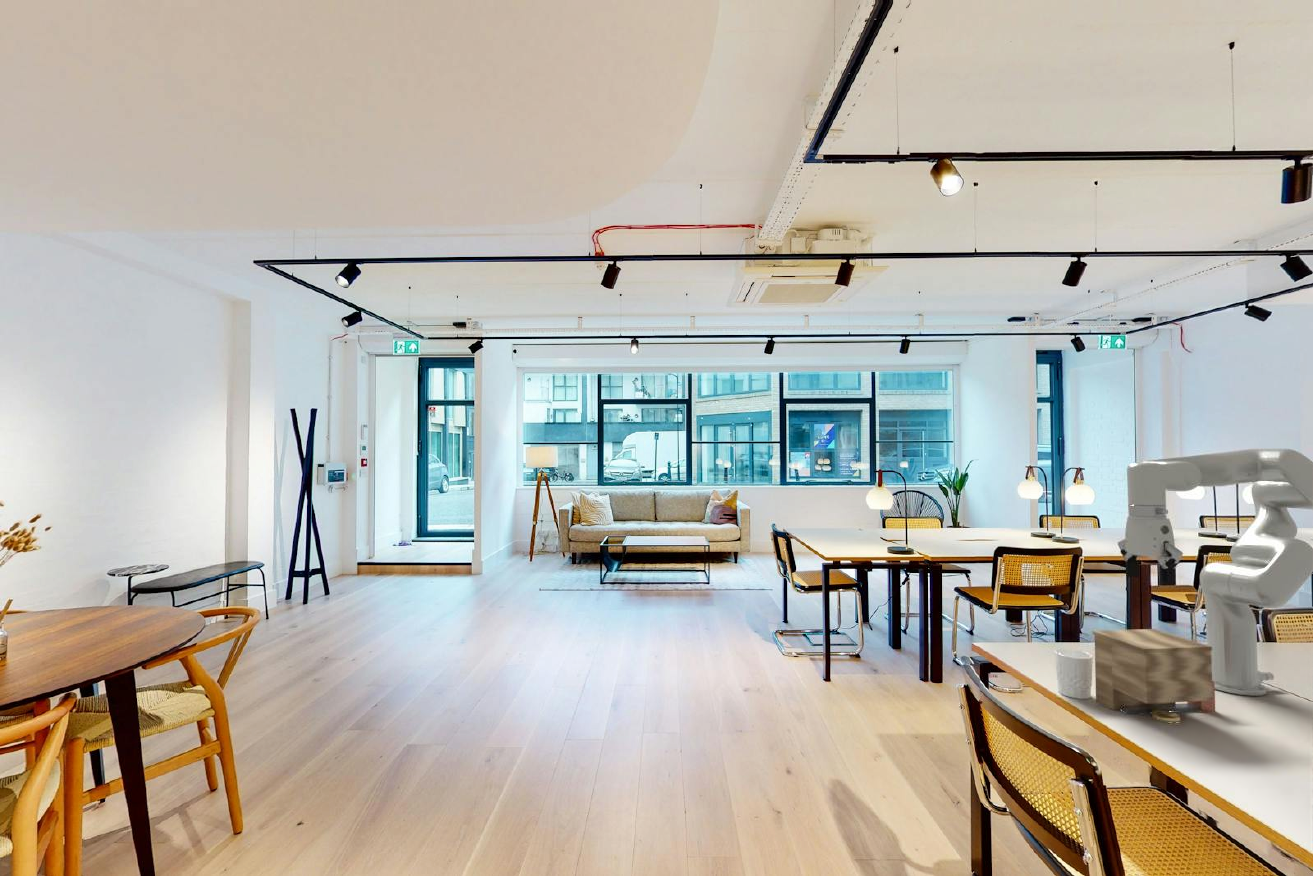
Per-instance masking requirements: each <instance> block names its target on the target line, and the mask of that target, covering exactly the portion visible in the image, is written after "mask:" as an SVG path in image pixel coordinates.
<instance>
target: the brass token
mask: <svg viewBox="0 0 1313 876" xmlns="http://www.w3.org/2000/svg"><path fill="white" fill-rule="evenodd" d="M1152 716H1153V717H1154V718H1153V717H1152ZM1151 717H1152V718H1153V719H1155V720H1157V719H1159V720H1158V721H1160V720H1161V721H1160V722H1163V721H1164V723H1168V722H1172V723H1171V724H1177V723H1176V722H1180V723H1181V716H1180V715H1179V714H1177V713H1176V712H1168V711H1163V710H1153V711H1152V713H1151Z"/></svg>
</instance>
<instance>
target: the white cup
mask: <svg viewBox="0 0 1313 876" xmlns="http://www.w3.org/2000/svg"><path fill="white" fill-rule="evenodd" d="M1093 657H1094V656H1093V655H1092V654H1091V653H1089V652H1086V651H1083V650H1078V649H1073V648H1072V649H1071V648H1057V649H1055V650H1054V659H1055V660H1054V661H1055V671H1056V672H1055V673H1056V680H1057V689H1058V693H1060V694H1061V695H1063V696H1065V697H1068V698H1072V699H1077V700H1078V699H1079V700H1087V699H1091V697H1092V687H1093V686H1092V685H1093V684H1092V683H1093V666H1094V665H1093V662H1094V661H1093Z"/></svg>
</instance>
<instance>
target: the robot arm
mask: <svg viewBox="0 0 1313 876" xmlns="http://www.w3.org/2000/svg"><path fill="white" fill-rule="evenodd" d="M1126 481H1127V483H1126V485H1127V504H1128V512H1127V513H1128V515H1127V518H1126V525H1125V534H1124V536H1125V537H1124V539H1122V540H1120V541H1118V542H1117V546H1118V548H1119V550H1120V554H1121V555H1122V557H1123V561H1125V570H1126V571H1125V575H1126V577H1128V578H1139V577H1140V575H1141V574H1140V573H1141V572H1140V561H1139V560H1138V559H1139V558H1146V559H1151V560H1157V562H1158V564H1159V565H1160V566H1161V567H1160V568H1159V583H1160V585H1161V586H1162V585H1163V586H1170V585H1171V586H1173V585H1175V569H1176V568H1177V566H1178V565H1179V564H1180V563H1181V559H1182V558H1183V554H1184V553H1183V551H1181V550H1180V549H1178V548H1177V547H1176V545H1175V543H1176V542H1175V536H1174V531H1173V527H1172V524H1171V520H1170V518H1167V515H1168V514H1169V510H1168V509H1167V498H1166V497H1167V494H1166V492H1167V491H1169V492H1170V491H1171V492H1188V491H1192V490H1194V489H1196V488H1197V487H1203V488H1204V487H1210V488H1211V487H1213V488H1214V487H1226V486H1233V485H1239V484H1249V483H1252V487H1251V496H1252V501H1253V505H1254V509H1255V510H1254V512H1255V517H1254V520H1252V522H1251V523H1250V524H1249V526H1248V527H1247V528H1246V530H1245V531H1244V532H1243V533H1242V534H1241V535H1240V536H1239V537H1238V538H1237V540H1236V541H1235V542H1234V544H1233V545H1232V547H1231V548H1230V553H1229V556H1230V559H1231V561H1232V562H1228V561H1213V562H1209V563H1208V564H1206V565H1205V566H1204V567H1203V568H1201V571H1200V573H1199V583H1200V587H1201V591H1202V594H1203V598H1204V605H1205V617H1206V618H1205V621H1206V622H1205V623H1206V624H1205V626H1206V630H1205V632H1206V645H1208V646H1211V647H1212V650H1211V656H1212V680H1213V681H1215V690H1218V691H1220V692H1226V693H1228V694H1229V693H1230V694H1234V695H1235V694H1236V695H1243V696H1253V697H1255V696H1257V697H1258V696H1265V695H1267V693H1268V688H1267V687H1266V686H1265V685H1263V684H1262V682H1263V681H1272V680H1274V679H1275V676H1274V674H1273V673H1272V672H1270V671H1268V672H1264V671H1262V672H1261V671H1259V670H1258V669H1259V667H1258V638H1257V637H1258V635H1257V629H1258V627H1257V620H1256V619H1257V618H1256V616H1255V613H1254V611H1253V610H1252V608H1251V607H1250V605H1251V606H1254V607H1260V608H1266V609H1278V608H1281V607H1283V606H1284V605H1287V603H1289V601H1290V600H1291V599H1292V598H1293V597H1294V596H1295V594H1296V593H1297V592H1298V591H1299V590H1300V588H1301V587H1302V586H1303V585H1304V584H1305V583H1306V581H1307V580H1308V579H1309V578H1310V577H1311V575H1312V574H1313V547H1312V546H1311V544H1310V543H1308V542H1306V541H1304V540H1302V539H1299V538H1296V536H1297V534H1298V526H1297V524H1296V522H1295V520H1294V519H1293V517H1292V516H1291V514H1290V513H1289V512H1290V511H1288V509H1303V510H1313V461H1312V460H1311V459H1310V458H1309V457H1307V456H1305V455H1304V454H1302V453H1301V452H1299V451H1297V450H1295V449H1292V448H1291V449H1290V448H1248V449H1241V450H1233V451H1223V452H1216V453H1207V454H1205V453H1204V454H1197V455H1191V456H1189V455H1188V456H1181V457H1180V456H1179V457H1178V456H1177V457H1169V458H1168V457H1167V458H1159V459H1152V460H1144V461H1142V462H1132V463H1130V464H1128V465H1127V468H1126Z"/></svg>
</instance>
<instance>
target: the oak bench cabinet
mask: <svg viewBox="0 0 1313 876" xmlns="http://www.w3.org/2000/svg"><path fill="white" fill-rule="evenodd" d="M1093 635H1094V668H1095V669H1094V670H1095V676H1094V677H1095V702H1096V703H1098V704H1100V705H1103V706H1104V705H1105V706H1104V707H1106V706H1107V707H1106V708H1108V707H1109V708H1108V709H1110V708H1111V709H1110V710H1112V711H1116V710H1117V711H1118V710H1119V711H1121V710H1120V709H1121V706H1139V705H1161V704H1177V703H1185V702H1186V703H1187V702H1190V701H1212V700H1213V693H1212V656H1211V650H1212V647H1211V646H1208V645H1207V644H1204V643H1201V642H1198V641H1195V640H1192V639H1188V638H1185V637H1183V636H1182V637H1181V636H1178V635H1176V634H1173V633H1168V632H1165V631H1163V630H1159V629H1157V628H1144V629H1139V628H1137V629H1113V630H1112V629H1110V630H1109V629H1108V630H1104V629H1103V630H1092V636H1093Z"/></svg>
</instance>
